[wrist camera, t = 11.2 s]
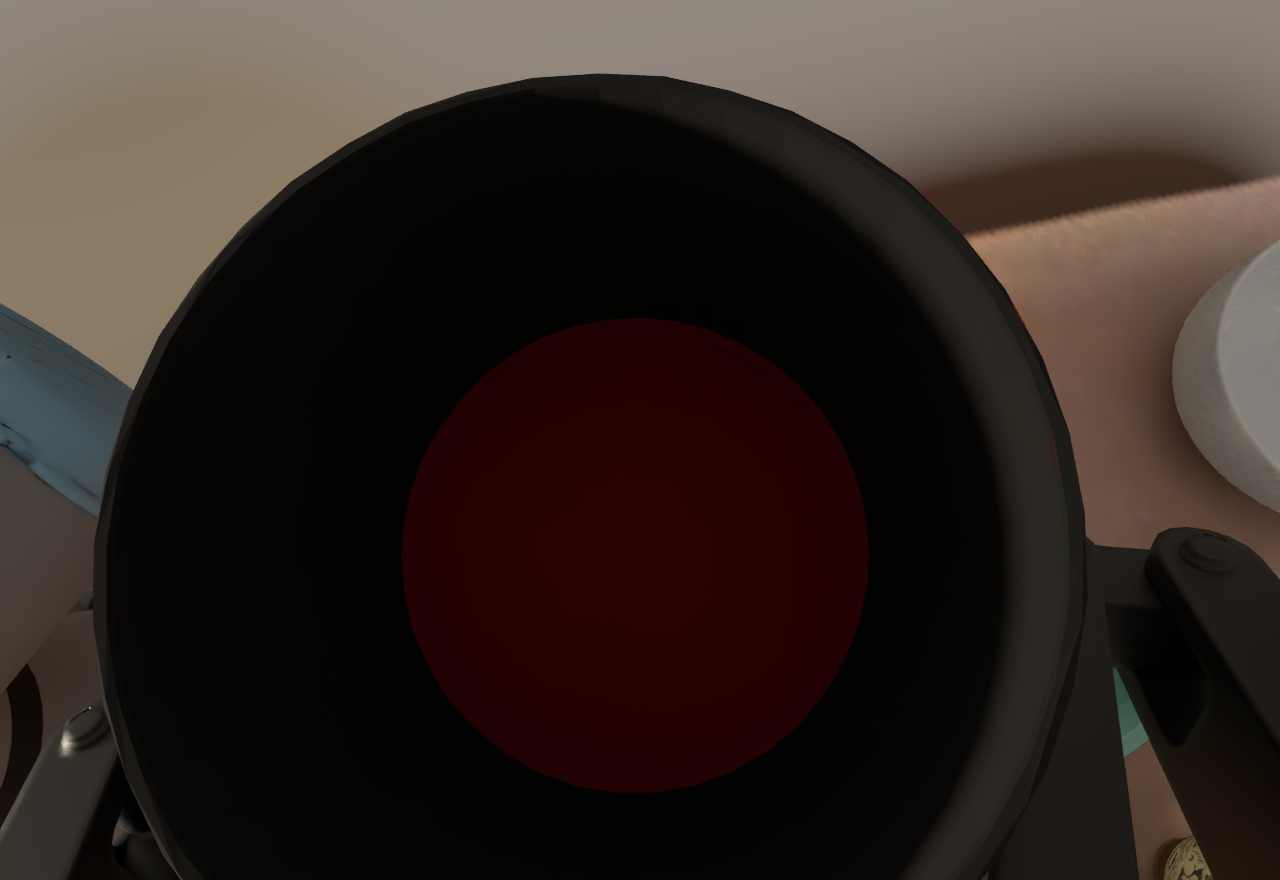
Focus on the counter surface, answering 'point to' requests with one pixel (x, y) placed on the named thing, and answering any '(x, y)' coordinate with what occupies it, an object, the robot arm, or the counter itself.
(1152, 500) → the counter surface
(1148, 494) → the counter surface
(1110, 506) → the counter surface
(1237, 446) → the cereal bowl
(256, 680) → the wine glass
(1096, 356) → the counter surface
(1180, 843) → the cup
